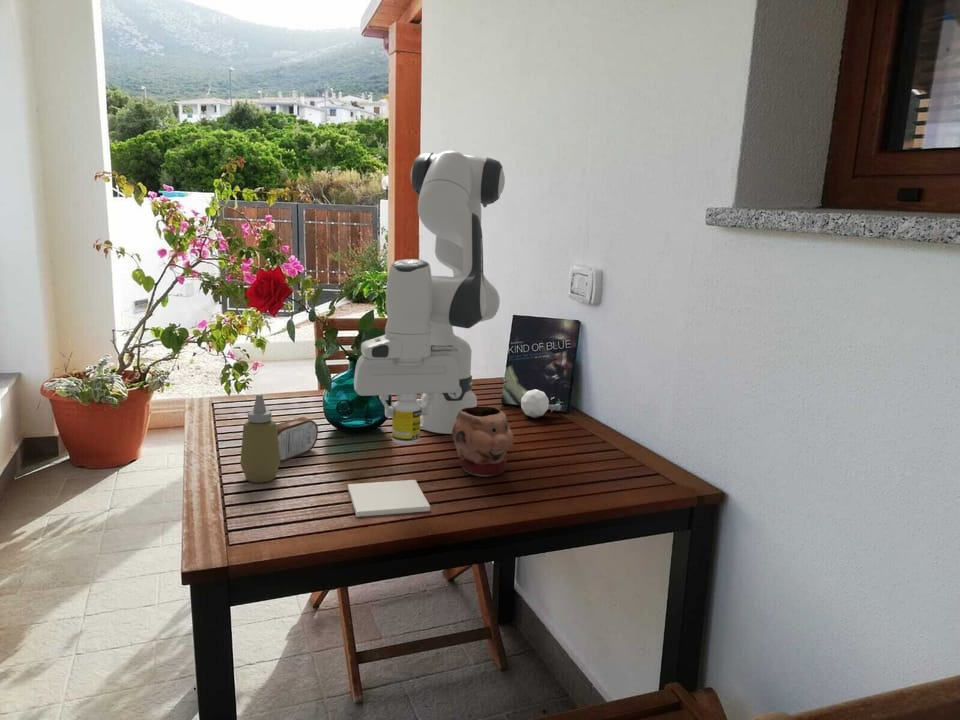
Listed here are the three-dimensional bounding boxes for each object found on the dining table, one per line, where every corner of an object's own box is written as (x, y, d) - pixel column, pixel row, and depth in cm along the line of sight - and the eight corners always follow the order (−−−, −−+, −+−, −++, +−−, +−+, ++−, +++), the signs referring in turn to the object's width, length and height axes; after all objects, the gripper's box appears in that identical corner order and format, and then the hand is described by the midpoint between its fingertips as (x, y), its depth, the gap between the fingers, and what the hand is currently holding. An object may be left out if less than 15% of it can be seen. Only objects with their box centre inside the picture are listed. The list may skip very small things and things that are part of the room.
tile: (347, 488, 147) (347, 484, 146) (415, 484, 151) (415, 479, 150) (356, 516, 133) (356, 511, 133) (429, 511, 138) (430, 506, 137)
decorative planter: (431, 459, 166) (433, 401, 163) (473, 451, 173) (476, 395, 170) (483, 487, 150) (486, 424, 148) (527, 477, 158) (531, 416, 155)
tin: (310, 446, 171) (310, 412, 170) (320, 449, 170) (320, 415, 168) (262, 464, 159) (262, 427, 157) (273, 467, 157) (272, 430, 155)
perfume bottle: (515, 399, 210) (553, 403, 213) (518, 421, 204) (558, 425, 207) (523, 382, 204) (562, 386, 207) (527, 404, 199) (567, 409, 202)
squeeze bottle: (242, 487, 145) (240, 401, 141) (238, 473, 152) (236, 391, 148) (283, 483, 148) (282, 398, 144) (277, 469, 155) (276, 389, 152)
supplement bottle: (415, 445, 137) (416, 396, 135) (388, 443, 138) (389, 393, 136) (423, 437, 143) (424, 389, 141) (397, 435, 144) (397, 387, 142)
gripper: (456, 342, 143) (453, 409, 146) (352, 343, 137) (352, 413, 139) (465, 348, 137) (462, 417, 140) (357, 349, 131) (356, 422, 134)
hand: (406, 415), depth 140 cm, fingers closed on supplement bottle, 5 cm apart
